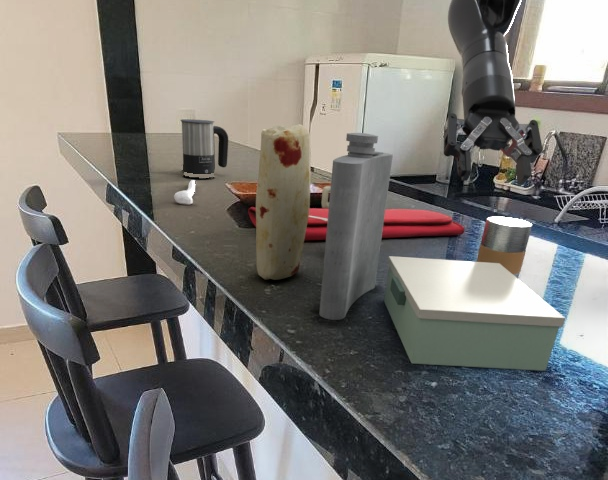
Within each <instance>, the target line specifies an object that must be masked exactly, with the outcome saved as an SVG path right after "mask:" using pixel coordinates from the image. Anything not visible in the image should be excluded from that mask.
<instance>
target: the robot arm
mask: <svg viewBox="0 0 608 480" xmlns="http://www.w3.org/2000/svg"><path fill="white" fill-rule="evenodd" d="M521 2H522V0H450V3H449V7H448V9H447V10H448V11H447V12H448V13H447V26H448V29H449V30H448V31H449V33H450V36H451V39H452V42H453V44H454V46H455V48H456V50H457V52H458V54H459V55H460V59H461V72H462V79H461V98H462V111H463V118H458V116H457V114H455V112H451V113H449V115H448V117H447V119H446V121H445V124H444V126H443V155H444V156H445V157H454V158H455V159H456V168H457V169H456V171H457V175H458V177H459V178H460V177H461V181H464V182H465V181H468V180H469V178H470V177H471V175H472V161H471V160H472V159H471V152H472V151H473V150H474V149H475V148H476V147H477V148H479V150H492V151H498V152H499V151H501V152H502V153H503V155H505V156H506V158H507V157H508V158H511V159H512V160H513V161H514V162H515V163H516V164H515V173H516V174H515V175H516V183H517V185H518V186H524V184H526V182H528V180H529V179H530V178H531V175H532V173H533V172H532V164H534V163H536V161H537V159H538V157H539V156H540V155H541V154H542V153H543V151H544V148H543V144H542V138H541V133H540V129H539V124H538V120H535V119H531V120H529V122H528V123H519V121H518V119H517V118H516V101H515V91H514V83H513V82H514V81H513V74H512V70H511V66H510V63H509V53H508V45H507V40H506V37H505V35H506V34H507V33H508V32H509V30H510V28H511V26H512V24H513V22H514V19H515V16H516V14H517V11H518V9H519V7H520V5H521ZM460 130H462V132H463V133H464V134H465V135H466V137H467V138H466V139H465V140H464V141H463V142H462V143H461V144H460V143H458V133H459V131H460ZM510 142H511V144H510V145H509V143H510Z"/></svg>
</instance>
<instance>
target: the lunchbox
mask: <svg viewBox="0 0 608 480" xmlns="http://www.w3.org/2000/svg"><path fill="white" fill-rule="evenodd" d="M387 265H388V270H387V277H386V283H385V284H386V285H385V290H384V297H383V302H384V304H385V307H386V309H387V312H388V314H389V316H390V317H391V318H390V319H391V321H392V323H393V326H394V327H395V330H396V331H397V334H398V337H399V339H400V341H401V343H402V345H403V348H404V350H405V353H406V355H407V357H408V360H409V361H410V363H411V364H413V365H428V366H429V365H430V366H447V367H468V368H487V369H502V370H503V369H504V370H520V371H523V370H524V371H540V372H546V371H547V367H548V364H549V362H550V358H551V355H552V352H553V349H554V346H555V342H556V339H557V336H558V333H559V331H560V328H563V327H564V324H565V321H566V317H565V316H564V315H562V313H560V312H559V311H558V310H556V309H555V308H554V307H553V306H552V305H550V304H549V303H548V302H546V301H545V300H544V298H542V297H541V296H540V295H538V294H537V293H536V292H535V291H534V290H532V288H530V287H529V286H527V285H526V283H524V282H522V281H521V280H520V279H519V277H518V278H516V277H515V276H514V275H513V274H512V273H510V272H509V271H508V270H507V269H506V268H504V267H503V266H502V265H501V264H500V263H487V262H476V261H471V260H470V261H469V260H455V259H442V258H427V257H426V258H424V257H409V256H394V255H391V256H390V255H388V257H387Z"/></svg>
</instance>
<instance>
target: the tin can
mask: <svg viewBox="0 0 608 480" xmlns="http://www.w3.org/2000/svg"><path fill="white" fill-rule="evenodd" d="M532 228H533V224H532V223H530V222H529V221H526V220H523V219H519V218H513V217H505V216H488V217H487V218H486V219H485V224H484V228H483V233H482V236H481V242H480V244H479V249H478V253H477V257H476V261H475V262H487V263H500V264H501V265H502V266H503V267H504V268H506V269H507V270H508V271H509V272H510V273H512V274H513V275H514V276H515V277H516V278H518V279H519V277H520V274H521V271H522V267H523V263H524V260H525V256H526V252H527V246H528V244H529V239H530V235H531V231H532Z"/></svg>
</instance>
